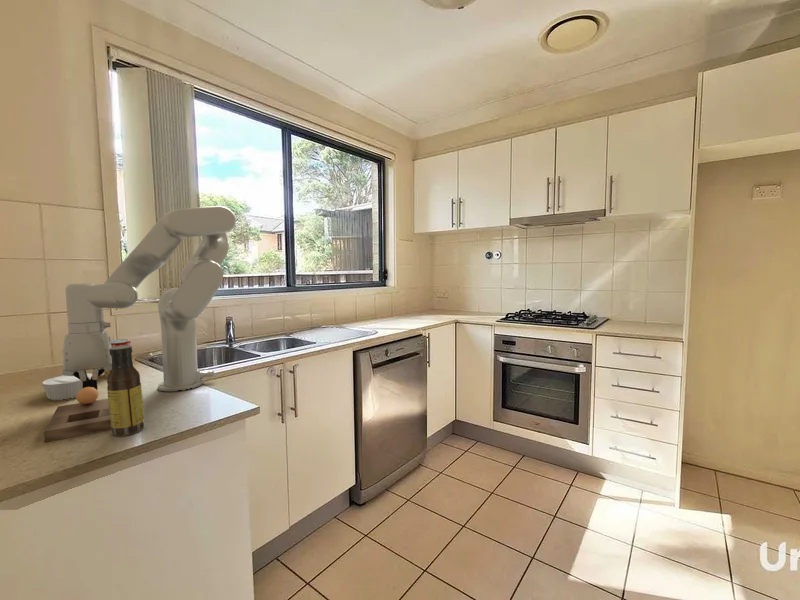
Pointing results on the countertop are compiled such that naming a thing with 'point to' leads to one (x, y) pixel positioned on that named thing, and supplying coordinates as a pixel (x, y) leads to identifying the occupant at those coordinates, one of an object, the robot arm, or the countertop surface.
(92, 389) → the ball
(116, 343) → the canned food
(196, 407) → the countertop surface
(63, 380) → the ramekin
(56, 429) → the board
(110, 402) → the sauce bottle
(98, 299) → the robot arm
